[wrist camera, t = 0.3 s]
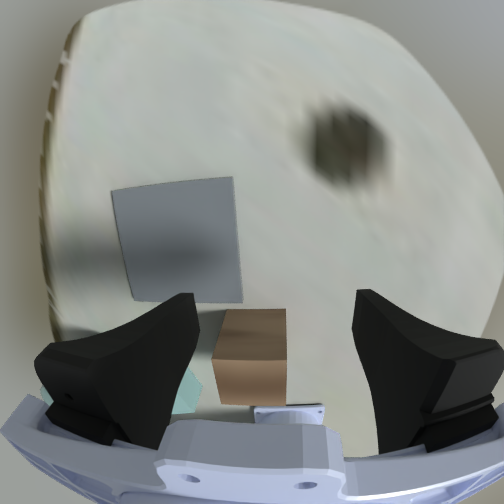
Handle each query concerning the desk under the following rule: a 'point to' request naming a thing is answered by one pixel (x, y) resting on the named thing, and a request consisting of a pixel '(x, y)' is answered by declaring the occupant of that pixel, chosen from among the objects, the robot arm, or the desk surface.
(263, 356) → the walnut block
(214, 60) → the desk surface
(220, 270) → the slate coaster
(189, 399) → the teal block
